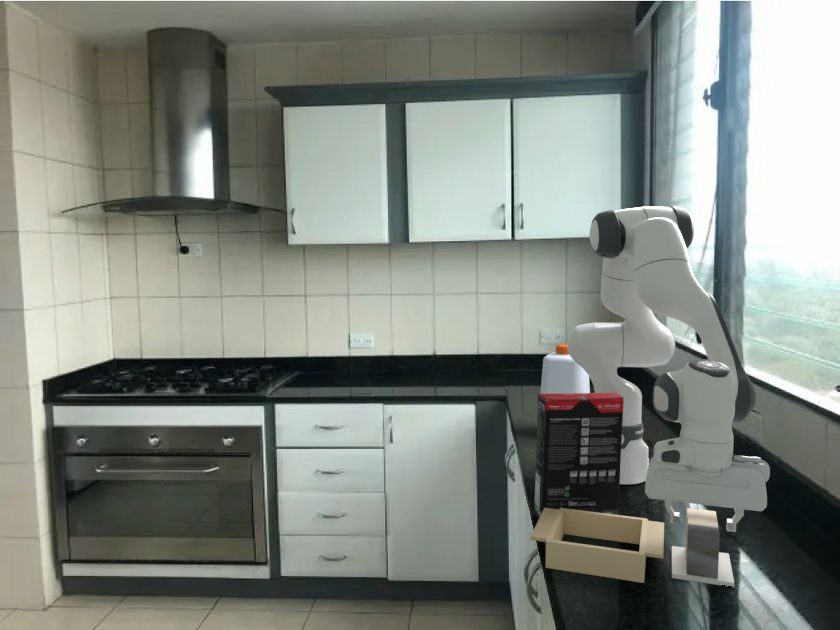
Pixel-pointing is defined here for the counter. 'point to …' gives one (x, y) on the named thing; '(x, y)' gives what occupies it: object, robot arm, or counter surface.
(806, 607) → the counter surface
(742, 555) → the counter surface
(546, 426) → the graphics card box
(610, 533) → the carton
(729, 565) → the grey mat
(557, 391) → the plastic bottle
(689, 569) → the block
